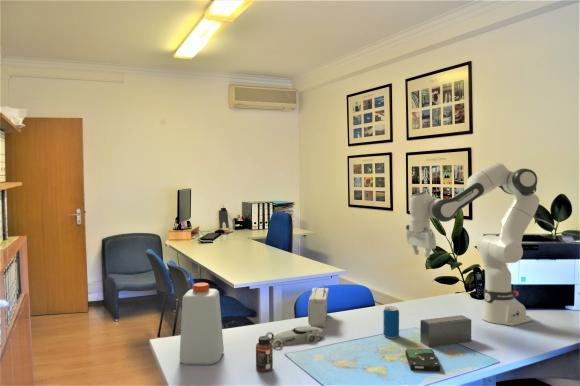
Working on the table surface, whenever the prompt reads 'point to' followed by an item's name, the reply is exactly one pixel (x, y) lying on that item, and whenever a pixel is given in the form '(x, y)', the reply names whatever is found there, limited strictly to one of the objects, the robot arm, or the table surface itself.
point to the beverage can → (391, 322)
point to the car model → (295, 336)
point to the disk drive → (422, 360)
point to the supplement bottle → (264, 354)
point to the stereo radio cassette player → (317, 307)
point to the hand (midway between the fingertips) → (421, 255)
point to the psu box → (445, 331)
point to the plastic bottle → (201, 326)
